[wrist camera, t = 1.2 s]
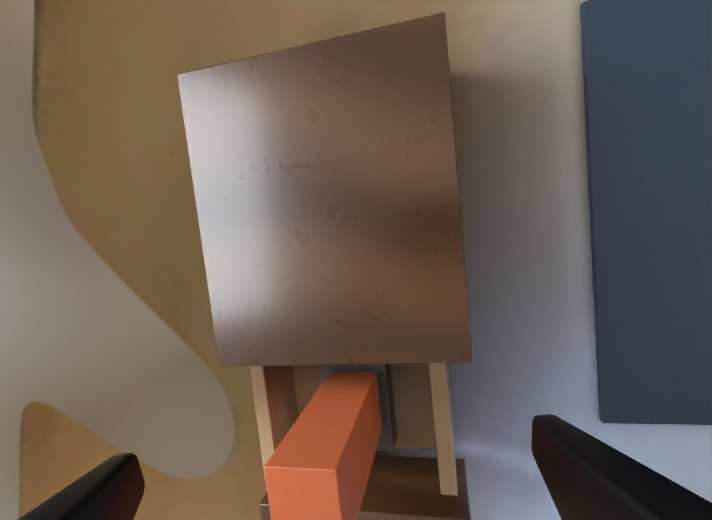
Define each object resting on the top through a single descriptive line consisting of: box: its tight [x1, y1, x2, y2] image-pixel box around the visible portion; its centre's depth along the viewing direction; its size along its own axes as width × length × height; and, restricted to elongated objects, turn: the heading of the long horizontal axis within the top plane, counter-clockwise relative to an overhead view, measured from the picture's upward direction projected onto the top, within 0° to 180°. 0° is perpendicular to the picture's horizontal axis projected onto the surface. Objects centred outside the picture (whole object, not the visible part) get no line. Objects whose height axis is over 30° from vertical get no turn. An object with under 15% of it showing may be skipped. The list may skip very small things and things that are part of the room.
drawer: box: [250, 363, 471, 520], centre depth 21 cm, size 18×11×5 cm, turn 6°
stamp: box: [264, 364, 397, 520], centre depth 17 cm, size 6×4×10 cm, turn 6°
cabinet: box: [177, 13, 472, 367], centre depth 19 cm, size 14×12×6 cm
